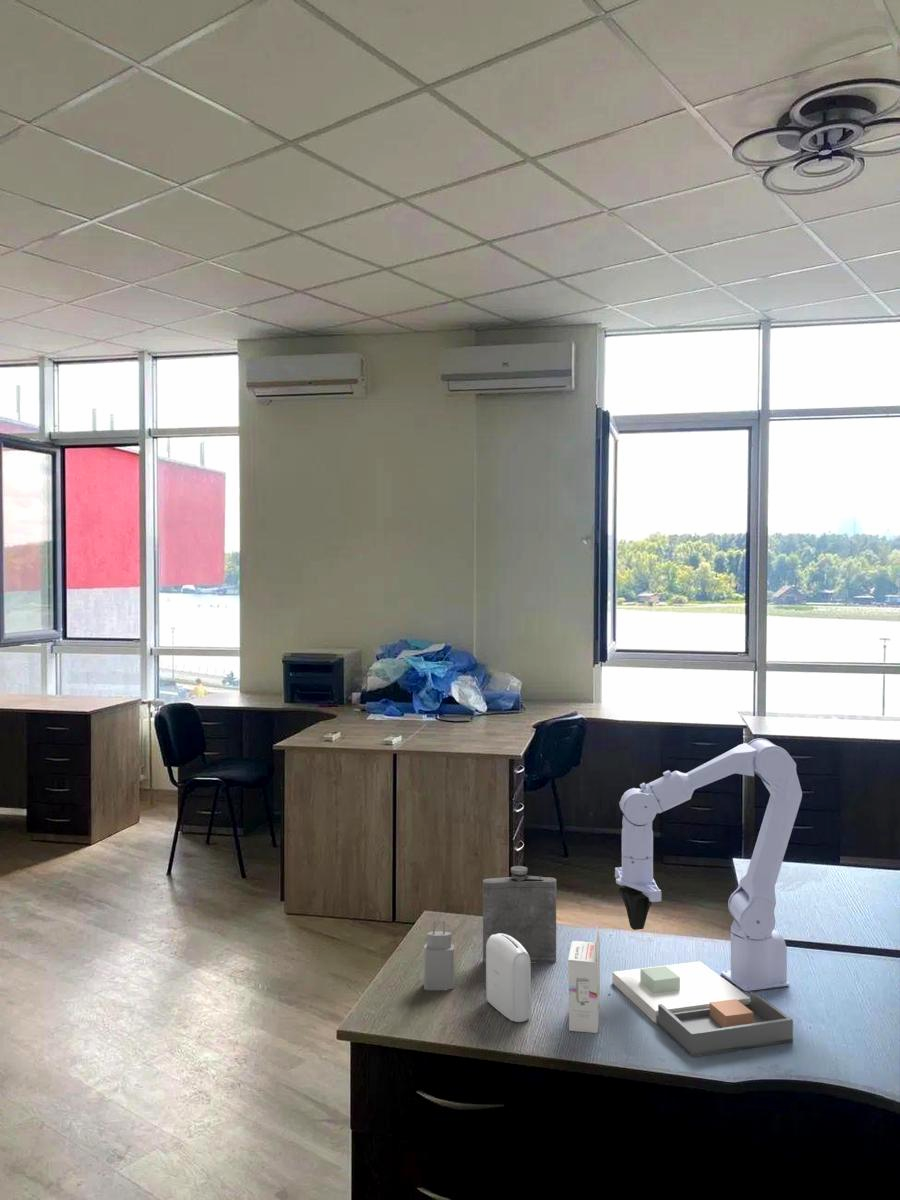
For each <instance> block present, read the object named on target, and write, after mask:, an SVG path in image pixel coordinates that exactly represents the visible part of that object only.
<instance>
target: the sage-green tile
mask: <svg viewBox="0 0 900 1200" xmlns="http://www.w3.org/2000/svg"><path fill="white" fill-rule="evenodd" d="M660 966H661V967H657V966H652V967H653V968H649V967H644V968H645V969H640V968H639V969H640V981H641V982H642V983H643V984H644V985H645V986H646V987H647V988H649V989H650V990H651V991H652V992H653V993H661V992H669V991H676V990H680V977H679V976H678V975H676V974H675V973H674V972H672V971H671V970H670V969H669V968H667V967H666V966H665V965H660Z"/></svg>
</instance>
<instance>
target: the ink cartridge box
mask: <svg viewBox="0 0 900 1200" xmlns="http://www.w3.org/2000/svg"><path fill="white" fill-rule="evenodd" d="M595 930H596V932H595V938H594V941H581V940H572V941H571V943H570V947H569V952H568V959H567V963H568V1017H569V1018H568V1023H569V1025H568V1027H569V1028H568V1031H569V1032H580V1033H589V1034H598V1033H599V1022H600V1009H601V1007H600V1001H601V1000H600V999H601V998H600V997H601V996H600V993H601V992H600V988H601V985H600V984H601V981H600V980H601V977H600V975H601V974H600V973H601V972H600V971H601V967H600V965H601V963H600V962H601V957H600V956H601V955H600V954H601V945H600V944H601V942H600V931H599V926H598V925H597V926H596V929H595Z"/></svg>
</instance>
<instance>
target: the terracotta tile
mask: <svg viewBox="0 0 900 1200" xmlns="http://www.w3.org/2000/svg"><path fill="white" fill-rule="evenodd" d="M709 1016H711V1017H712V1018H713V1019H714V1020H715V1021H716V1022H718V1023H719V1024H720V1025H721V1026H722V1027H723V1028H724V1027H731V1026H738V1025H745V1024H752V1023H753V1012H752V1011H751V1010H749V1009H748V1008H747V1007H745V1006H744V1005H743V1004H742V1003H740V1002H739V1001H738V1000H737V999H733V1000H725V1001H717V1002H710V1004H709Z"/></svg>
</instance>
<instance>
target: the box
mask: <svg viewBox="0 0 900 1200" xmlns="http://www.w3.org/2000/svg"><path fill="white" fill-rule="evenodd" d="M749 992H750V996H749V997H750V1002H746V1003H742V1004H743V1005H744V1006H745V1007H747V1008H748V1009H749V1010H751V1011H752V1012H753V1023H752V1024H745V1025H738V1026H731V1027H724V1028H723V1027H722V1026H721V1025H720V1024H719V1023H718V1022H716V1021H715V1020H714V1019H713V1018H712V1017H711V1016H709V1008H703V1009H696V1010H688V1011H681V1012H674V1013H671V1012H670V1011H669V1010H668V1009H667V1008H666V1007H664V1006H663V1005H662V1004H658V1015H656V1023H655V1025H657V1026H658V1027H659V1028H660V1029H661V1030H662V1031H663V1032H664V1033H665V1034H666V1035H668V1037H670V1038H671V1039H672V1040H673V1041H674V1042H675V1043H676V1044H677V1045H679V1047H680V1048H682V1050H684V1052H686V1054H687V1055H689V1056H690V1057H691V1058H694V1057H702V1056H708V1055H715V1054H720V1053H721V1054H722V1053H727V1052H734V1051H735V1052H736V1051H741V1050H748V1049H754V1048H759V1047H767V1046H772V1045H780V1044H786V1043H792V1042H794V1041H793V1040H794V1020H793V1018H792V1017H789V1015H787V1014H786V1013H784V1012H783V1011H782V1010H781V1009H779V1008H777V1007H776V1006H774V1005H773V1004H771V1003H770V1002H769V1001H767V1000H766V999H765V998H763V997H762V996H760V995H759V994H758V993H756V992H755V991H749Z"/></svg>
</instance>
